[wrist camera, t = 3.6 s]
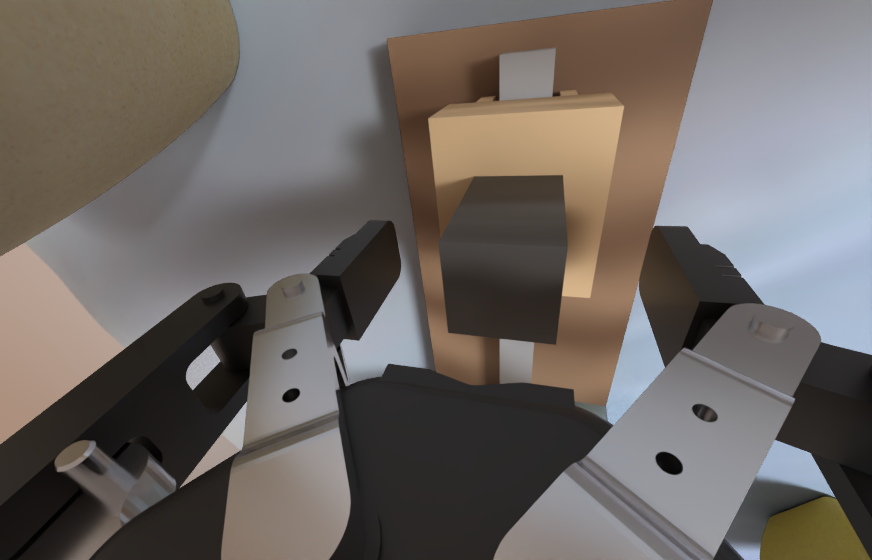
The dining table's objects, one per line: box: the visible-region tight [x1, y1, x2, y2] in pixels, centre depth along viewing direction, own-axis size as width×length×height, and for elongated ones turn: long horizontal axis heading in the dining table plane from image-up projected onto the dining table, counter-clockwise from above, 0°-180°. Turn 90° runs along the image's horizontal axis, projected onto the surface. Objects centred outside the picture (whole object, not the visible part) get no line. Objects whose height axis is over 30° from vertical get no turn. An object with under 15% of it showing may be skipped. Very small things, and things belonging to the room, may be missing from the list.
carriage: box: [428, 90, 624, 345], centre depth 13 cm, size 7×6×10 cm
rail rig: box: [387, 0, 713, 421], centre depth 19 cm, size 30×12×10 cm, turn 6°
